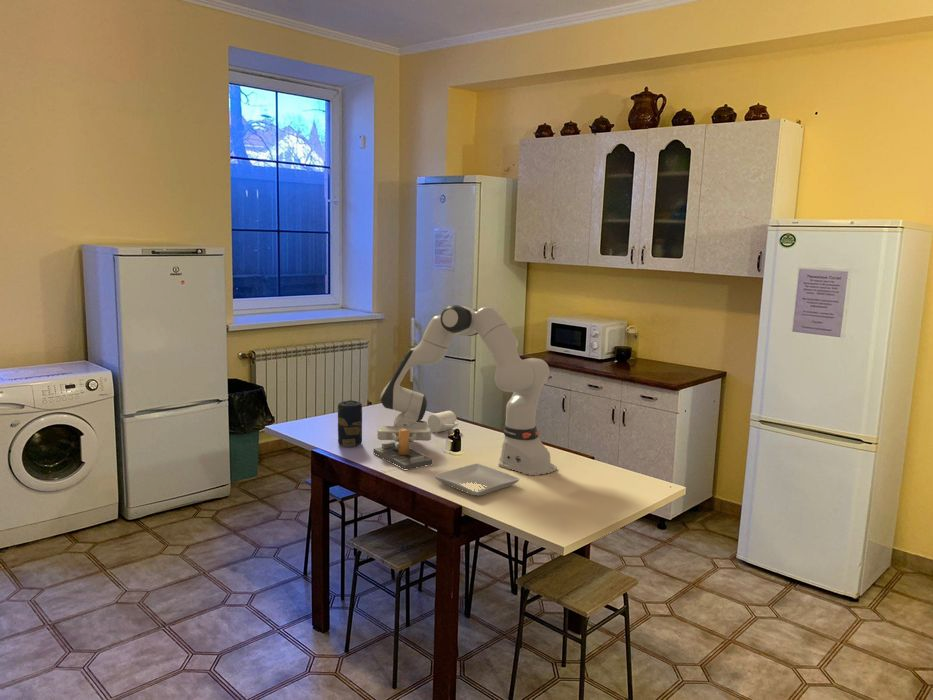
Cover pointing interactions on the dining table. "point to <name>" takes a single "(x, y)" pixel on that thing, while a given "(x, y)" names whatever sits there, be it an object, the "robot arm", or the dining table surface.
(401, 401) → the robot arm
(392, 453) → the console
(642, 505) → the dining table surface
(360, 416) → the canister
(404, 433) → the fader knob
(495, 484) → the salad plate
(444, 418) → the mug
